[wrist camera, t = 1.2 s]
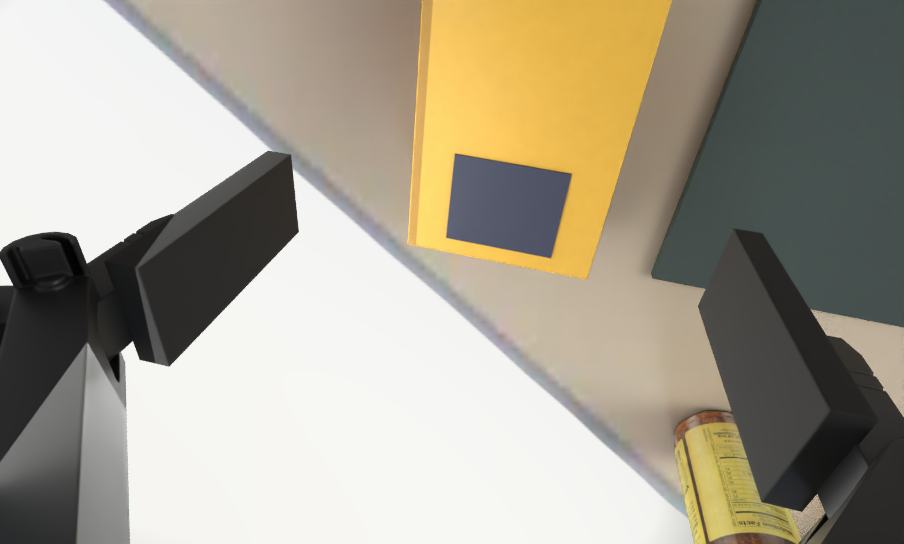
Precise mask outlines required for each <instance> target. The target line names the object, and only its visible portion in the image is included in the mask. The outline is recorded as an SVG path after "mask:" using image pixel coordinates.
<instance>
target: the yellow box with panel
mask: <svg viewBox="0 0 904 544" xmlns="http://www.w3.org/2000/svg"><path fill="white" fill-rule="evenodd" d="M671 3H672V0H422V6H421V23H420V41H419V58H418V75H417V92H416V109H415V127H414V144H413V161H412V178H411V195H410V213H409V230H408V244H409V245H414V246H419V247H424V248H429V249H434V250H439V251H445V252H450V253H455V254H460V255H465V256H470V257H475V258H480V259H485V260H490V261H495V262H500V263H505V264H510V265H515V266H520V267H525V268H530V269H535V270H540V271H546V272H551V273H556V274H561V275H566V276H571V277H576V278H581V279H586V280H587V279H588V275H589V272H590V269H591V265H592V262H593V259H594V256H595V252H596V249H597V246H598V242H599V239H600V236H601V233H602V229H603V226H604V223H605V220H606V216H607V213H608V210H609V206H610V203H611V200H612V197H613V193H614V190H615V187H616V183H617V180H618V177H619V174H620V170H621V167H622V164H623V160H624V157H625V154H626V151H627V147H628V144H629V141H630V138H631V134H632V131H633V128H634V124H635V121H636V118H637V115H638V111H639V108H640V105H641V101H642V98H643V95H644V92H645V88H646V85H647V82H648V78H649V75H650V72H651V69H652V65H653V62H654V59H655V55H656V52H657V49H658V46H659V42H660V39H661V36H662V33H663V29H664V26H665V23H666V19H667V16H668V13H669V10H670V6H671Z"/></svg>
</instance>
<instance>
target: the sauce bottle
mask: <svg viewBox="0 0 904 544" xmlns="http://www.w3.org/2000/svg"><path fill="white" fill-rule="evenodd" d="M674 447H675V459H676V463H677V467H678V472H679V477H680V481H681V486H682V490H683V495H684V499H685V504H686V508H687V513H688V517H689V521H690V526H691V531H692V536H693V541H694V544H798V543H799V542H800V541H801V540H802V537H801V534H800V532H799V530H798V527H797V525H796V522H795V520H794V517H793V515H792V513H791V510H790V509H788V508H784V507H779V506H775V505H771V504H766V503H762V502H761V500H760V497H759V493H758V490H757V487H756V484H755V481H754V478H753V475H752V472H751V469H750V466H749V463H748V459H747V456H746V453H745V450H744V447H743V444H742V441H741V438H740V435H739V432H738V428H737V425H736V422H735V419H734V416H733V414H731V413H728V412H721V411H704V412H702V413H698V414H696V415H694V416H692V417H690V418H688V419H686V420H684V421H682V422H681V423H680V424H679V425H678V427H677V429H676V430H675V433H674Z"/></svg>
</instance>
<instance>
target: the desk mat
mask: <svg viewBox="0 0 904 544" xmlns="http://www.w3.org/2000/svg"><path fill="white" fill-rule="evenodd" d="M733 228H735V229H741V230H747V231H753V232H759V233H763V235H764V236H765V238H766V239H767V241H768V243H769V244H770V246H771V247H772V249H773V251H774V252H775V254H776V255H777V257H778V259H779V260H780V262H781V263H782V265H783V267H784V268H785V270H786V271H787V273H788V275H789V276H790V278H791V280H792V281H793V283H794V284H795V286H796V288H797V289H798V291H799V292H800V294H801V296H802V297H803V299H804V300H805V302H806V304H807V305H808V307H809V308H810V309H813V310H818V311H823V312H828V313H833V314H838V315H843V316H848V317H854V318H859V319H864V320H869V321H874V322H879V323H884V324H889V325H895V326H900V327H904V0H757V3H756V5H755V8H754V10H753V13H752V16H751V18H750V21H749V23H748V26H747V28H746V31H745V34H744V36H743V39H742V41H741V44H740V46H739V49H738V52H737V54H736V57H735V59H734V62H733V64H732V67H731V70H730V72H729V75H728V77H727V80H726V83H725V85H724V88H723V90H722V93H721V95H720V98H719V101H718V103H717V106H716V108H715V111H714V113H713V116H712V119H711V121H710V124H709V126H708V129H707V131H706V134H705V137H704V139H703V142H702V144H701V147H700V149H699V152H698V155H697V157H696V160H695V162H694V165H693V167H692V170H691V173H690V175H689V178H688V180H687V183H686V185H685V188H684V191H683V193H682V196H681V198H680V201H679V203H678V206H677V209H676V211H675V214H674V216H673V219H672V221H671V224H670V227H669V229H668V232H667V234H666V237H665V239H664V242H663V245H662V247H661V250H660V252H659V255H658V257H657V260H656V263H655V265H654V268H653V270H652V273H651V275H652V278H653V279H659V280H664V281H669V282H674V283H679V284H684V285H689V286H694V287H700V288H705V289H706V288H707V285H708V283H709V281H710V279H711V277H712V274H713V272H714V270H715V268H716V266H717V263H718V261H719V259H720V257H721V255H722V252H723V250H724V248H725V246H726V244H727V242H728V239H729V237H730V235H731V233H732V231H733Z"/></svg>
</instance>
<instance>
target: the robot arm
mask: <svg viewBox="0 0 904 544" xmlns="http://www.w3.org/2000/svg"><path fill="white" fill-rule="evenodd" d="M298 232H299V230H298V220H297V210H296V201H295V190H294V181H293V170H292V160H291V155H290V154H284V153H278V152H272V151H267V152H265V153H264V154H263V155H261V156H260V157H258V158H257V159H255V160H254V161H252V162H251V163H249V164H248V165H247V166H245V167H243V168H242V169H240V170H239V171H238V172H236V173H235V174H233V175H232V176H230V177H229V178H227V179H226V180H224V181H223V182H221V183H220V184H219V185H217V186H215V187H214V188H212V189H211V190H209V191H208V192H207V193H205V194H204V195H202V196H201V197H199V198H198V199H196V200H195V201H193V202H192V203H190V204H189V205H187V206H186V207H184V208H183V209H181V210H180V211H178V212H177V213H175V214H170V215H168V216H165V217H162V218H159V219H157V220H154V221H151V222H150V223H148V224H147V225H145V226H144V227H142V228H141V229H139V230H138V231H137V232H136V234H134V233H133V234H132V235H130V236H129V237H127V238H126V239H124V242H120V243H118V244H116V245H115V246H113V247H112V248H110V249H109V250H107V251H106V252H104V253H103V254H101V255H100V256H98V257H97V258H95V259H94V260H92V261H91V262H89V263H88V264H87V263H86V261H85V258H84V255H83V253H82V250H81V248H80V245H79V243H78V240H77V238H76V237H75V236H73V235H71V234H69V233H61V232H48V233H40V234H35V235H30V236H26V237H24V238H21V239H18V240H16V241H13V242H12V243H10V244H9V245H7V246H5V247H4V248H3V249H2V250H1V251H0V259H1V261H2V263H3V265H4V267H5V269H6V272H7V273H8V276H9V278H10V279H11V282H12V283H13V286H0V544H130V534H129V533H130V532H129V498H128V497H129V494H128V459H127V458H128V456H127V418H126V381H125V361H124V359H123V356H122V354H121V351H122V350H123V349H124V348H125V347H126V346H128V345H129V344H130V343H131V342H132V341H133V342H134V345H135V348H136V351H137V353H138V356H139V359H140V360H143V361H148V362H152V363H156V364H161V365H165V366H170V365H171V364H172V363H173V362H174V361H175V360H176V359H177V358H178V357H179V356H180V355H181V354H182V353H183V352H184V351H185V349H187V347H189V345H190V344H191V343H192V342H193V341H194V340H195V339H196V338H197V337H198V336H199V335H200V334H201V333H202V332H203V331H204V330H205V329H206V328H207V327H208V326H209V325H210V324H211V323H212V321H213V320H214V319H215V318H216V317H217V316H218V315H219V314H220V313H221V312H222V311H223V310H224V309H225V308H226V307H227V306H228V305H229V304H230V303H231V302H232V301H233V300H234V299H235V297H236V296H238V294H239V293H240V292H241V291H242V290H243V289H244V288H245V287H246V286H247V285H248V284H249V283H250V282H251V281H252V280H253V279H254V278H255V277H256V276H257V275H258V274H259V273H260V272H261V271H262V269H263V268H264V267H265V266H266V265H267V264H268V263H269V262H270V261H271V260H272V259H273V258H274V257H275V256H276V255H277V254H278V253H279V252H280V251H281V250H282V249H283V248H284V247H285V246H286V244H287V243H288V242H289V241H290V240H291V239H292V238H293V237H294V236H295V235H296V234H297V233H298ZM698 308H699V311H700V314H701V317H702V320H703V323H704V326H705V329H706V333H707V336H708V339H709V342H710V345H711V348H712V351H713V354H714V357H715V360H716V364H717V367H718V370H719V373H720V376H721V379H722V382H723V385H724V388H725V391H726V394H727V398H728V401H729V404H730V407H731V410H732V413H733V416H734V419H735V422H736V425H737V428H738V432H739V435H740V438H741V441H742V444H743V447H744V450H745V453H746V456H747V459H748V463H749V466H750V469H751V472H752V475H753V478H754V481H755V484H756V487H757V490H758V493H759V497H760V500H761V502H762V503H766V504H771V505H775V506H779V507H784V508H788V509H792V510H797V511H801V512H802V511H803V510H804V509H805V507H806V506H807V505H808V504H809V503H810V502H811V500H812V499H813V498H814V497H815V496H816V494H818V496H819V499H820V501H821V503H822V506H823V508H824V510H825V514H824V515H823V516H822V517H821V518H820V519H819V521H818V522H817V523H816V524H815V525H814V526H813V527H812V528H811V530H810V531H809V532H808V533H807V534H806V535H805V536H804V537H803V538H802V540H801V541H800V542H799V543H798V544H904V417H903V416H902V414H901V413H900V411H899V410H898V408H897V407H896V405H895V404H894V403H893V401H892V400H891V398H890V397H889V395H888V394H887V392H886V391H883V386H882V385H881V383H880V382H879V380H878V379H877V377H875V376H873V372H872V370H871V369H870V367H869V366H868V364H867V363H866V361H865V360H864V358H863V357H862V355H860V354H859V353H858V352H857V351H856V350H855V349H853V348H852V347H851V346H850V345H849V344H847V343H846V342H845V341H844V340H843V339H842V338H837V337H831V336H826V334H825V332H824V331H823V329H822V328H821V326H820V324H819V323H818V321H817V320H816V318H815V316H814V315H813V313H812V312H811V310H810V308H809V307H808V305H807V304H806V302H805V300H804V299H803V297H802V296H801V294H800V292H799V291H798V289H797V288H796V286H795V284H794V283H793V281H792V280H791V278H790V276H789V275H788V273H787V271H786V270H785V268H784V267H783V265H782V263H781V262H780V260H779V259H778V257H777V255H776V254H775V252H774V251H773V249H772V247H771V246H770V244H769V243H768V241H767V239H766V238H765V236H764V235H763V233H759V232H753V231H747V230H741V229H735V228H733V231H732V233H731V235H730V237H729V239H728V242H727V244H726V246H725V248H724V250H723V252H722V255H721V257H720V259H719V261H718V263H717V266H716V268H715V270H714V272H713V274H712V277H711V279H710V281H709V283H708V285H707V288H706V290H705V292H704V294H703V296H702V299H701V301H700V303H699V305H698Z"/></svg>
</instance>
